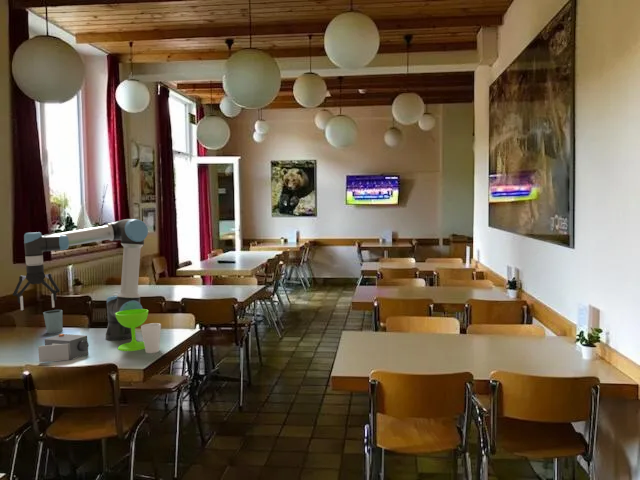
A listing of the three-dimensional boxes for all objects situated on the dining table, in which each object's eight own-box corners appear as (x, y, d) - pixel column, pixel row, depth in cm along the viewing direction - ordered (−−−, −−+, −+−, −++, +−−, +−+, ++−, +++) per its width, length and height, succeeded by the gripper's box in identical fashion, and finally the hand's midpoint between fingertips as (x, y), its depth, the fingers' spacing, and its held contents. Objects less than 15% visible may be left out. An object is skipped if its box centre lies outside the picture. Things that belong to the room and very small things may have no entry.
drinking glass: (67, 330, 342) (65, 310, 341) (51, 334, 334) (49, 313, 333) (57, 329, 348) (55, 309, 347) (41, 332, 339) (39, 312, 338)
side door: (71, 358, 275) (70, 343, 274) (70, 359, 274) (69, 343, 273) (39, 361, 272) (38, 346, 272) (39, 362, 271) (38, 346, 271)
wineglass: (118, 352, 285) (116, 316, 283) (116, 345, 300) (114, 311, 298) (152, 348, 291) (150, 312, 289) (149, 341, 305) (146, 307, 304)
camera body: (91, 354, 285) (90, 334, 284) (73, 360, 274) (72, 339, 274) (63, 351, 292) (62, 332, 291) (45, 357, 281) (44, 337, 281)
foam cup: (151, 354, 278) (149, 328, 277) (138, 352, 283) (136, 326, 282) (166, 350, 286) (164, 324, 285) (153, 348, 291) (151, 322, 290)
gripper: (63, 262, 286) (66, 304, 288) (7, 265, 278) (10, 309, 280) (62, 263, 279) (65, 307, 280) (4, 267, 271) (7, 312, 273)
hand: (37, 308), depth 280 cm, fingers open, 13 cm apart
